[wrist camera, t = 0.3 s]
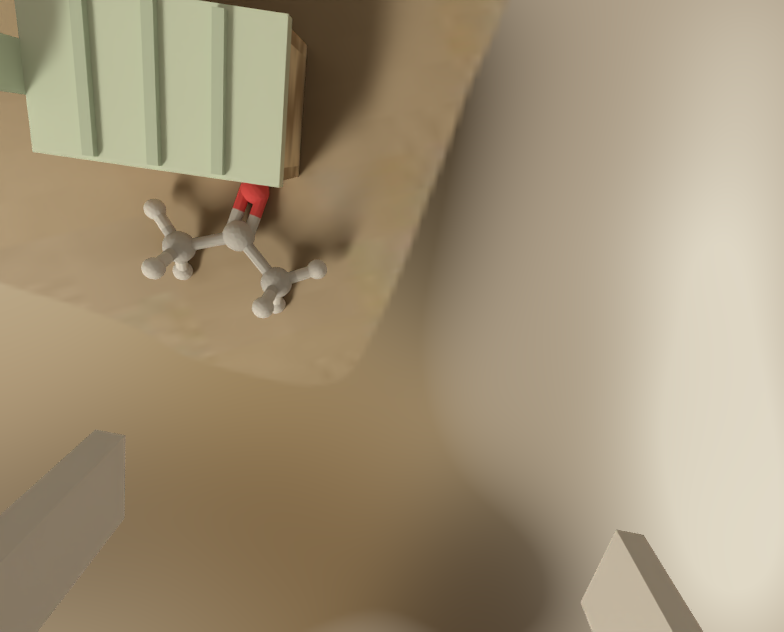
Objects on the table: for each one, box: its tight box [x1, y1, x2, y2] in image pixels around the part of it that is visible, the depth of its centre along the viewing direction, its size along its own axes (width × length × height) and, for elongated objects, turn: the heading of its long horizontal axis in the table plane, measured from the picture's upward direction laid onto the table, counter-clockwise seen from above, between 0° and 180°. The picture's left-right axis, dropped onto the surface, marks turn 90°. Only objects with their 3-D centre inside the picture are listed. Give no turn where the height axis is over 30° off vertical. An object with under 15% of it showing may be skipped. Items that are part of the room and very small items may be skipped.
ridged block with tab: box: [0, 0, 292, 188], centre depth 26 cm, size 10×22×5 cm, turn 82°
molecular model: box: [141, 182, 327, 318], centre depth 36 cm, size 14×8×10 cm
